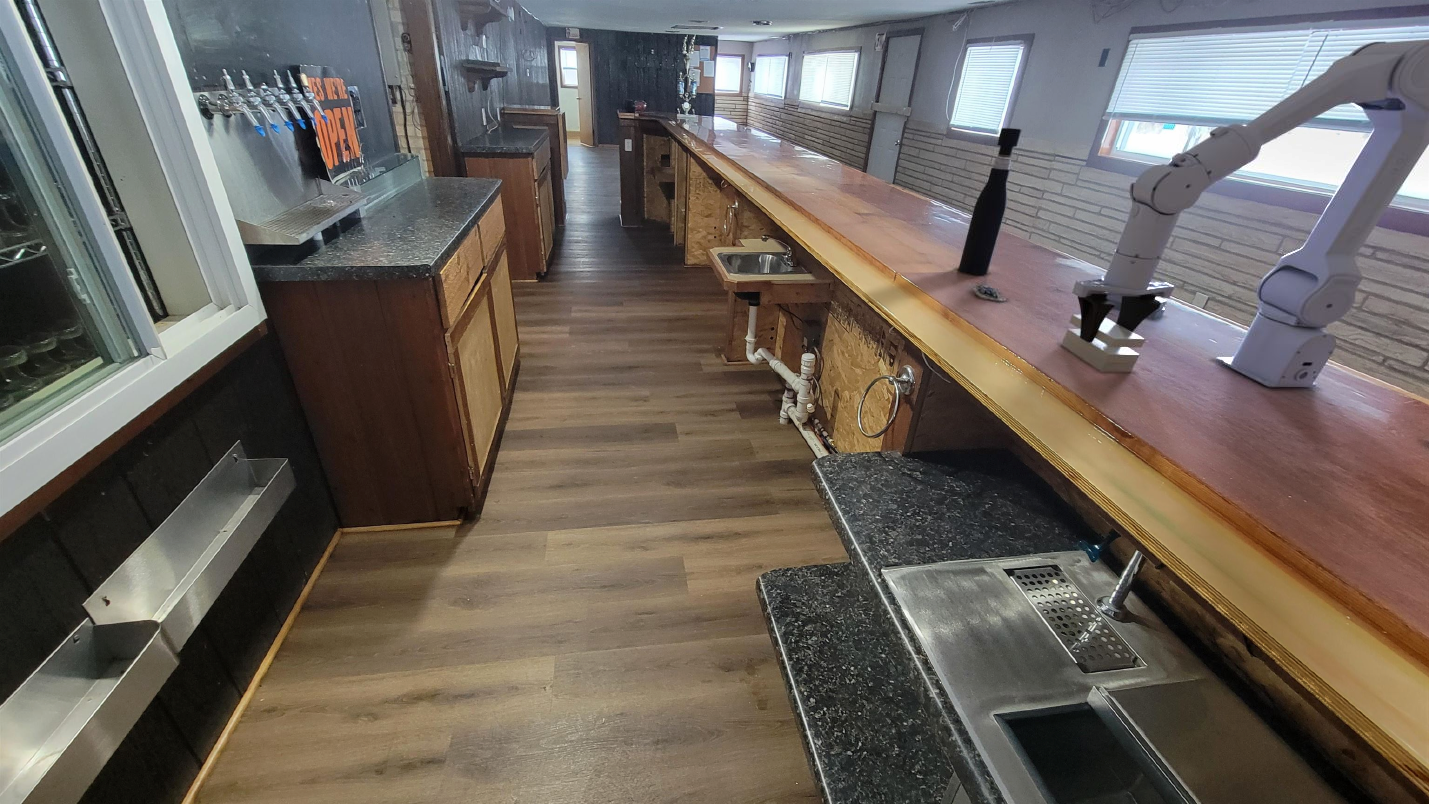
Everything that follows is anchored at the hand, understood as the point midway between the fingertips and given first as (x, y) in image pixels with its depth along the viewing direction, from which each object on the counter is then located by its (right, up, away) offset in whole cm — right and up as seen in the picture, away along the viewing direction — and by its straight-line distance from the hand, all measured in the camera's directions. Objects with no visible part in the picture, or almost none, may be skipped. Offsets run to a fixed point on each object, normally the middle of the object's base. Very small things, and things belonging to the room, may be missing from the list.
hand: (1102, 339), depth 89 cm
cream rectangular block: (0, -3, +2) cm, 3 cm away
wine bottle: (-1, +21, +43) cm, 47 cm away
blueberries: (-5, +12, +27) cm, 30 cm away
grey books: (+21, +8, +23) cm, 32 cm away
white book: (0, +1, 0) cm, 1 cm away
